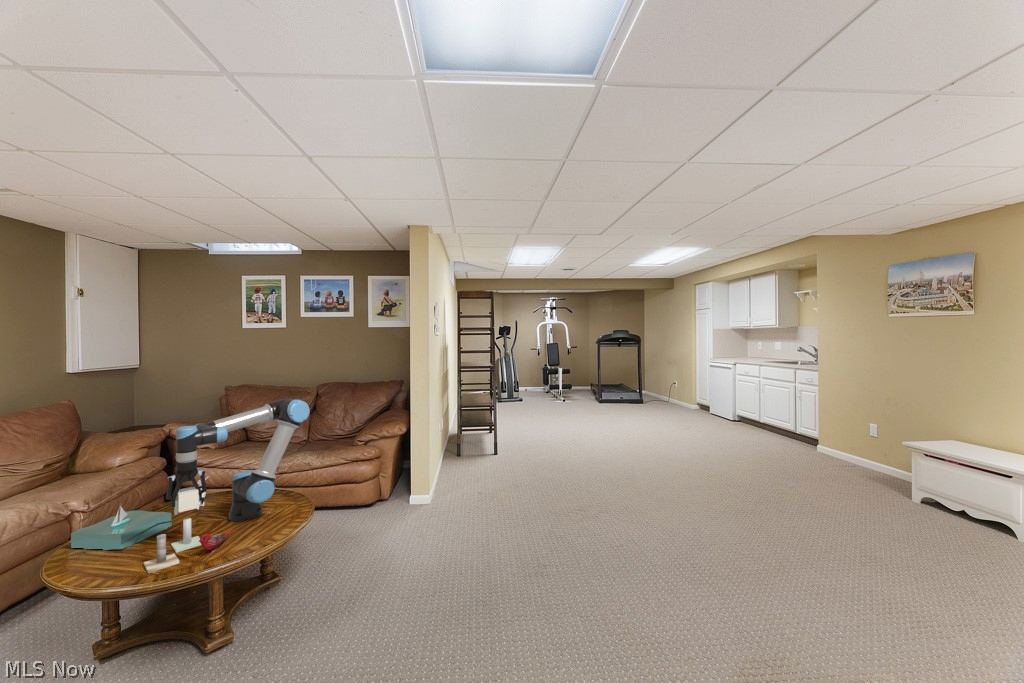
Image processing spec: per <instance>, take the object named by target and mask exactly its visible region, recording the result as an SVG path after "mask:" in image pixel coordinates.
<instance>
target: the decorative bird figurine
mask: <svg viewBox="0 0 1024 683" xmlns="http://www.w3.org/2000/svg"><path fill="white" fill-rule="evenodd" d="M234 530H235V527H233V528H232V529H229V531H227V532H226V533H217V534H212V535H211V534H209V533H204V534H202V535H201V536H199V538H200V540H199V542H200V543H201V545H200V546H202V548H203V549H204V550H206V551H210V552H208V555H210V554H213V553H214V552H216V551H217V550H218V547H219V546H221V544H222V543H223V542H224V541H225V540H226V538H227V536H228V535H230V534H231V532H232V531H234Z"/></svg>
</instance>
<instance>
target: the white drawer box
mask: <svg viewBox="0 0 1024 683" xmlns="http://www.w3.org/2000/svg"><path fill="white" fill-rule="evenodd" d="M176 499H177V500H178V504H177V511H178V513H183V512H187V511H191V510H195V509H196V508H198V489H196V488H195V487H194V486H190V487H185V488H180V490H179V492H178V493H177V497H176ZM196 510H197V509H196Z"/></svg>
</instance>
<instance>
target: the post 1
mask: <svg viewBox="0 0 1024 683" xmlns="http://www.w3.org/2000/svg"><path fill="white" fill-rule="evenodd" d="M178 564H180V559H179V558H178V556H177V555H176V553H175V552H173V553H170V554H167V534H166V533H161V534H158V535H157V536H156V558H152V559H150V560H147V561H146V560H145V561H143V566H144V568H145V570H146V573H147V574H150V573H153V572H157V571H160V570H164V569H165V568H169V567H172V566H176V565H178Z"/></svg>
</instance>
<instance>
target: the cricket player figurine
mask: <svg viewBox="0 0 1024 683" xmlns="http://www.w3.org/2000/svg"><path fill="white" fill-rule="evenodd" d="M209 478H210V476H209V475H208V476H206V477H205V481H206V480H207V479H209ZM196 482H197V484H198V486H199V488H200V490H202V485H201V479H200V478H199V480H197V481H196ZM206 495H207V491H206V492H204V493H202V500H201V501H199V508H200V507H205V500H206V499H205V497H206Z"/></svg>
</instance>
